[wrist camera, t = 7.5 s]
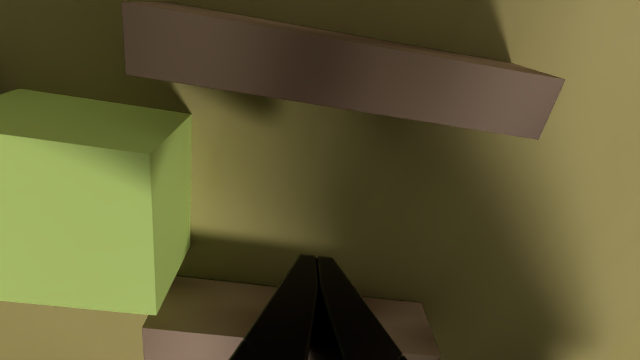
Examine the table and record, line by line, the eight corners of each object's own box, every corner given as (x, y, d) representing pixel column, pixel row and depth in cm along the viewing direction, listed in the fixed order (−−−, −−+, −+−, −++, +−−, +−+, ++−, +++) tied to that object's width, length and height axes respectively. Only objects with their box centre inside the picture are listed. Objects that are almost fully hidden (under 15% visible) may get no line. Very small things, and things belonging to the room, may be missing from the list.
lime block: (193, 112, 11) (149, 154, 8) (191, 242, 14) (156, 315, 10) (23, 87, 11) (-92, 121, 8) (49, 226, 13) (-33, 297, 10)
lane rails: (512, 63, 11) (564, 79, 9) (411, 329, 16) (428, 384, 13) (164, 1, 10) (121, 1, 8) (169, 304, 15) (143, 359, 12)
